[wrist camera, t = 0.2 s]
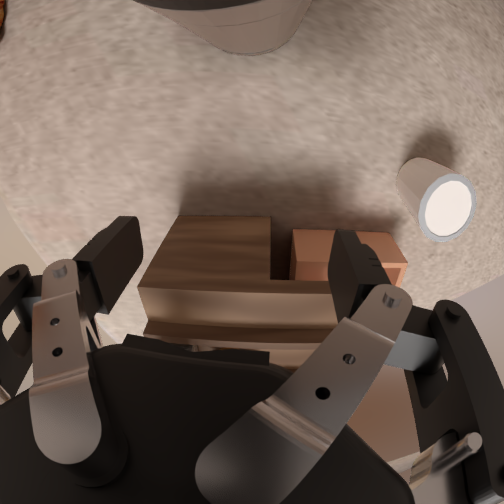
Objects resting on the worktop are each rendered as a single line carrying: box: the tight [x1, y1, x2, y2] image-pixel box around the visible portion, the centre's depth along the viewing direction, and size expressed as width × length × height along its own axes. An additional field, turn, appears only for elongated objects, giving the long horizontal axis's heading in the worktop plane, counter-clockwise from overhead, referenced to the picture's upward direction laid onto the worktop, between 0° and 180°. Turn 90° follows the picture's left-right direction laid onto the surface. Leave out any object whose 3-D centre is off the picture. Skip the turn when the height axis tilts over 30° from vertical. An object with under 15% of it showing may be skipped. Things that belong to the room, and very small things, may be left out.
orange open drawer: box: [289, 229, 408, 288], centre depth 31 cm, size 11×11×6 cm
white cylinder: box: [396, 157, 477, 242], centre depth 24 cm, size 7×7×7 cm
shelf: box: [137, 216, 338, 372], centre depth 28 cm, size 14×16×14 cm
